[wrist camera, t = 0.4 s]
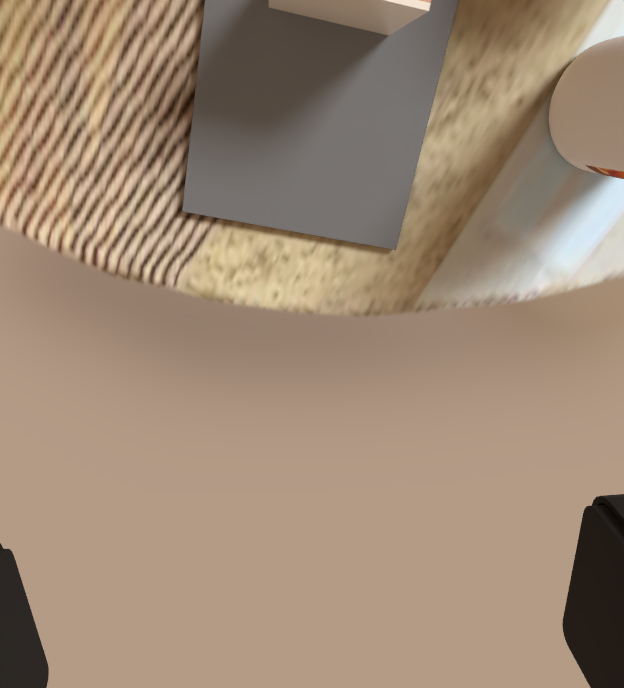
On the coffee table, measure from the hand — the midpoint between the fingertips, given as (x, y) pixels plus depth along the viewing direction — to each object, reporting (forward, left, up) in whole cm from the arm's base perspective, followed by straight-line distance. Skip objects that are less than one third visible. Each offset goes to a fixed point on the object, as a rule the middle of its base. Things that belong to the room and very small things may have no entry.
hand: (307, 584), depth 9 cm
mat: (-8, +1, -30) cm, 31 cm away
